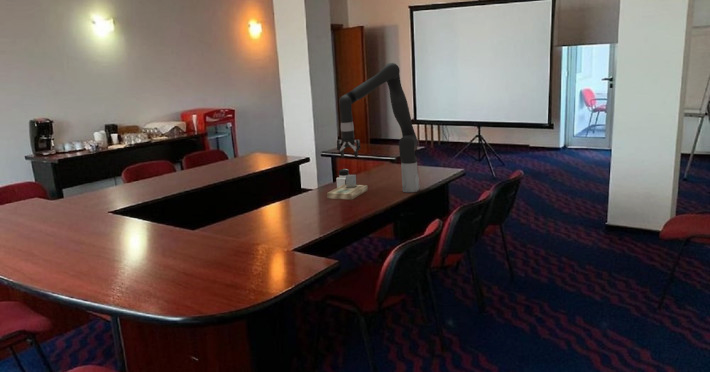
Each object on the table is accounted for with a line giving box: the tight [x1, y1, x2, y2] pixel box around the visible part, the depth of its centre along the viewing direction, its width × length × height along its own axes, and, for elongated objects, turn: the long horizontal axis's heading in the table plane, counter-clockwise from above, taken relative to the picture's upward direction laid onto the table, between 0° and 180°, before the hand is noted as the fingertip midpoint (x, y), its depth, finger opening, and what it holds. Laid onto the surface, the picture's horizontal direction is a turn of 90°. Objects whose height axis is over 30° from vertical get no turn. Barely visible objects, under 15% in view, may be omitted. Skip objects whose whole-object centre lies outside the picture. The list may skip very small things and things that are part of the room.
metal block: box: [345, 174, 357, 188], centre depth 336 cm, size 5×5×10 cm
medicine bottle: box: [336, 168, 350, 188], centre depth 350 cm, size 7×7×12 cm
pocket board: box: [326, 184, 369, 200], centre depth 332 cm, size 16×22×4 cm
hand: (349, 157), depth 333 cm, fingers open, 8 cm apart
